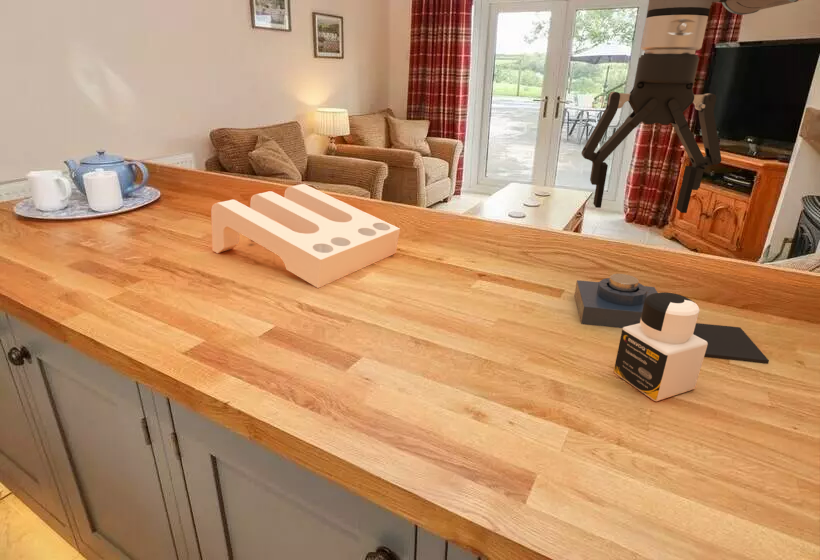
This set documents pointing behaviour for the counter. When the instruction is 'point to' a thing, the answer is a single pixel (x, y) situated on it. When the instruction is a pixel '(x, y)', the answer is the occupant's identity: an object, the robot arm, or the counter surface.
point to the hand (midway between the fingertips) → (638, 208)
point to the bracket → (306, 232)
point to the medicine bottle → (662, 347)
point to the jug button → (623, 283)
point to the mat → (729, 343)
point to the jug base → (609, 304)
